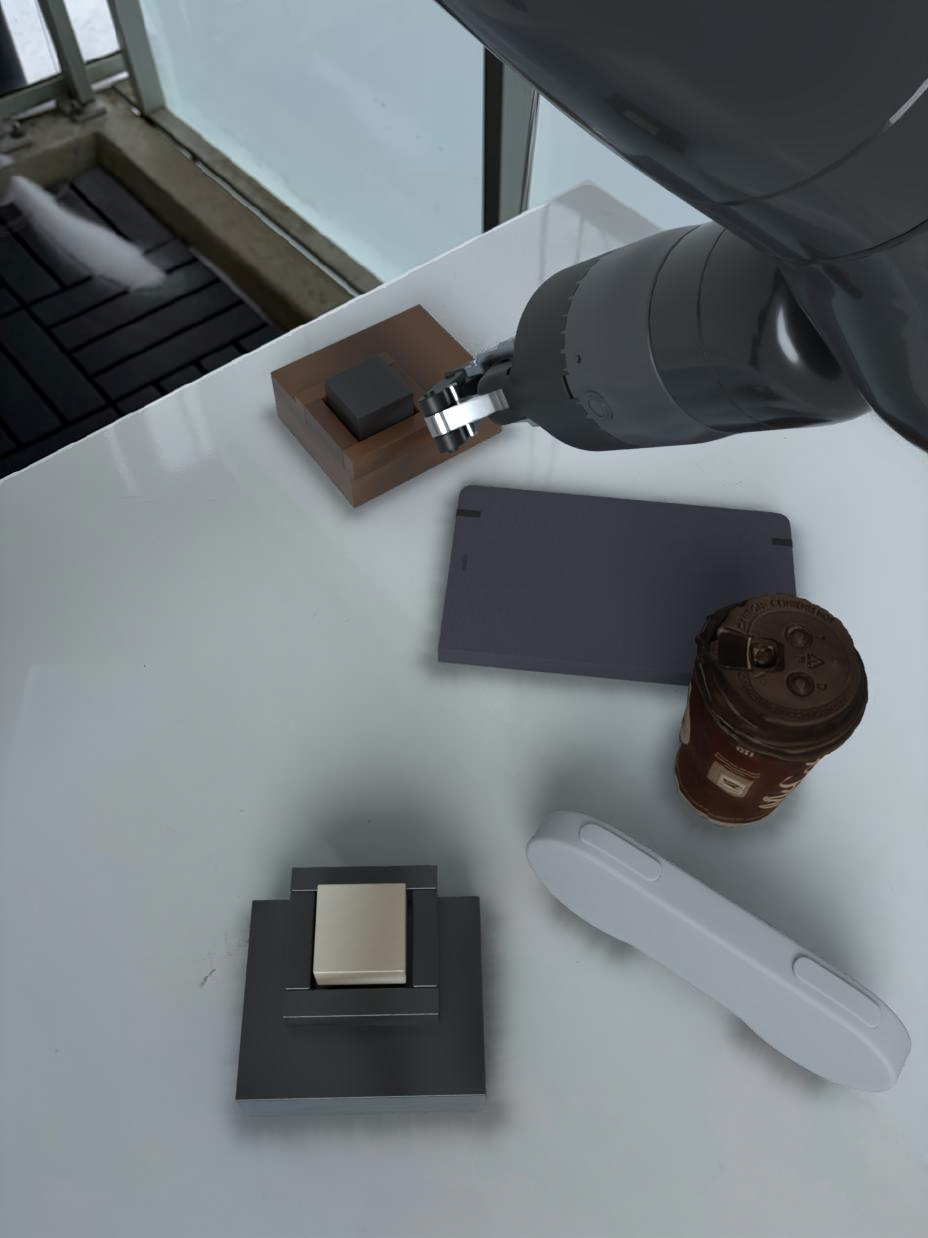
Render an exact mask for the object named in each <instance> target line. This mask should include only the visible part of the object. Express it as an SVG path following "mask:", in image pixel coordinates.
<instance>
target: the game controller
mask: <svg viewBox="0 0 928 1238" xmlns="http://www.w3.org/2000/svg"><path fill="white" fill-rule="evenodd" d="M525 856H526V860H527V863H528V865H529V868H530V869H531V871H532V872H533V874H534V875H535V877H536V878H537V880H538V881H539V882H540V883H541V884H542V885H543V887H544V888H545V889H546V890H547V891H548V892H549V893H550V894H551V895H552V896H553V897H554V898H555V899H556V900H557V901H559V902H560V903H561V904H562V905H563V906H564V907H566V908H567V909H568V910H569V911H571V912H572V913H573V914H575V915H576V916H577V917H579V918H580V919H582V921H584V922H585V923H588V925H591V926H592V927H594V928H595V929H597V930H599V931H600V932H603V933H605V934H607V935H608V936H611V937H612V938H615V939H617V940H619V941H621V942H623V943H626V944H629V945H630V946H632V947H634V948H635V949H637V950H638V951H640V952H641V953H643V954H644V955H646V956H647V957H649V959H652V960H654V961H655V962H657V963H658V964H659V965H661V966H662V967H664V968H665V969H666V970H668V971H669V972H671V973H673V974H674V975H676V976H677V977H679V978H681V980H683V981H685V982H686V983H688V984H689V985H690V986H692V987H693V988H695V989H696V990H697V991H699V992H701V993H702V994H704V995H705V996H707V997H708V998H710V999H711V1000H713V1001H714V1002H716V1003H717V1004H719V1005H720V1006H722V1007H723V1008H725V1009H726V1010H728V1012H731V1013H732V1014H733V1015H735V1016H736V1017H737V1018H739V1019H740V1020H741V1021H742V1022H744V1024H746V1026H747V1027H748V1028H750V1029H751V1031H753V1032H754V1033H755V1034H756V1035H757V1037H758V1036H759V1038H760V1039H762V1041H763V1042H765V1043H766V1044H768V1045H769V1046H770V1047H772V1048H773V1049H774V1050H776V1051H778V1052H779V1053H780V1054H781V1055H783V1056H785V1057H786V1058H787V1059H789V1060H791V1061H792V1062H794V1063H796V1064H797V1065H799V1066H801V1068H804V1069H805V1070H808V1071H809V1072H812V1073H813V1074H815V1075H816V1076H819V1077H822V1078H823V1079H826V1080H827V1081H830V1082H833V1083H835V1084H837V1085H839V1086H842V1087H846V1088H849V1089H851V1090H852V1089H853V1090H855V1091H861V1092H866V1093H874V1094H875V1093H885V1092H888V1091H890V1090H891V1089H893V1088H894V1087H895V1085H897V1083H898V1080H899V1078H900V1077H901V1073H902V1071H903V1069H904V1067H905V1064H906V1062H907V1060H908V1058H909V1055H910V1053H911V1050H912V1041H911V1037H910V1034H909V1031H908V1029H907V1028H906V1026H905V1025H904V1023H903V1022H902V1020H901V1019H900V1017H898V1015H897V1014H896V1013H895V1012H894V1010H893V1009H891V1008H890V1006H889V1005H888V1004H886V1002H885V1001H883V1000H882V999H881V998H880V997H879V996H877V995H876V994H875V993H874V992H872V991H871V990H870V989H868V988H867V987H866V986H864V985H863V984H862V983H860V982H859V981H857V980H855V979H854V978H852V977H851V976H850V975H848V974H847V973H845V972H843V971H842V970H840V969H839V968H837V967H836V966H834V965H833V964H831V963H829V962H828V961H826V960H825V959H823V958H822V957H821V956H819V955H817V954H816V953H814V952H812V951H811V950H810V949H807V948H806V947H805V946H803V945H802V944H800V943H799V942H797V941H795V940H793V939H792V938H791V937H789V936H788V935H786V934H784V933H783V932H781V931H780V930H778V929H776V928H775V927H773V926H772V925H770V924H769V923H768V922H766V921H764V920H762V919H761V918H759V917H758V916H756V915H755V914H753V913H752V912H750V911H748V910H747V909H746V908H744V907H742V906H741V905H739V904H737V903H736V902H734V901H733V900H731V899H730V898H728V897H726V896H725V895H723V894H721V893H720V892H719V891H717V890H716V889H714V888H712V887H710V886H709V885H708V884H706V883H704V882H702V881H701V880H700V879H699V878H697V877H695V876H693V875H692V874H690V873H689V872H687V871H686V870H684V869H682V868H681V867H679V866H677V865H676V864H674V863H673V862H671V861H670V860H668V859H667V858H665V857H663V856H661V854H658V853H657V852H655V851H653V849H651V848H649V847H647V845H645V844H643V843H642V842H640V841H638V840H636V839H635V838H633V837H631V836H630V835H628V834H627V833H625V832H623V831H622V830H621V829H618V828H617V827H616V826H614V825H612V824H610V823H608V822H606V821H604V820H602V819H600V818H597V817H594V816H592V815H589V814H586V813H582V812H579V811H575V810H565V809H563V810H561V809H560V810H555V811H553V812H550V813H549V814H547V816H546V817H545V818H544V819H543V820H542V822H541V823H540V824H539V826H538V828H537V829H536V830H535V831H534V833H533V834H532V836H531V837H530V839H528V842H527V844H526V846H525Z"/></svg>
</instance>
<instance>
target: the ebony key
mask: <svg viewBox="0 0 928 1238" xmlns="http://www.w3.org/2000/svg"><path fill="white" fill-rule="evenodd" d="M324 383H325V392H326V400H327V404H328V405H329V406H330V407H331V408H332V410H333V411H334V412H335V413H336V414H337V415H338V416H339V418H340V419H341V420H342V421H343V422H344V423H345V425H346V426H347V427H348V428H349V429H350V430H351V431H352V433H353V434H354V435H355V436H356V437H357V438H358V439H359V441H360V442H361V441H363V440H365V439H367V438H369V437H371V436H373V435H375V434H377V433H379V432H381V431H383V430H385V429H387V428H389V427H391V426H393V425H395V424H397V423H399V422H401V421H403V420H405V419H407V418H409V417H411V416H413V415H414V394H413V391H412V390H411V389H410V388H409V387H408V386H407V385H406V383H405V382H404V381H403V380H402V379H401V378H400V377H399V376H398V375H397V374H396V373H395V372H394V371H393V370H392V369H391V367H390V366H389V365H388V364H387V363H386V362H385V361H384V360H383V359H382V358H381V357H380V356H379V355H376V356H374V357H372V358H369V359H367V360H365V361H363V362H361V363H359V364H357V365H354V366H352V367H350V368H348V369H346V370H344V371H342V372H340V373H337V374H335V375H333V376H331V377H329V378H327V379H325V380H324Z"/></svg>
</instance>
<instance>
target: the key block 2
mask: <svg viewBox="0 0 928 1238" xmlns="http://www.w3.org/2000/svg"><path fill="white" fill-rule="evenodd" d="M378 883H405V884H406V895H407V955H406V983H405V984H364V985H318V984H317V981H316V979H315V976H314V973H313V965H314V946H315V927H316V907H317V888H318V885H320V884H378ZM438 888H439V887H438V865H437V864H412V865H354V866H353V865H352V866H351V865H349V866H348V865H347V866H346V865H345V866H344V865H343V866H342V865H341V866H294V867H292V868H291V874H290V888H289V889H290V890H289V891H290V893H289V899H252V901H251V907H250V908H251V909H250V920H249V921H250V922H249V933H248V943H247V944H248V945H247V954H246V955H247V957H246V966H245V967H246V968H245V978H244V979H245V980H244V991H243V1003H242V1014H241V1015H242V1016H241V1027H240V1039H239V1050H238V1062H237V1072H236V1073H237V1074H236V1084H235V1085H236V1086H235V1097H234V1098H235V1099H234V1100H235V1102H236V1103H237V1104H238V1106H239V1107H240V1108H241V1109H242V1110H243V1111H244V1112H245V1114H247V1115H248V1117H251V1118H254V1117H255V1118H256V1117H258V1118H259V1117H292V1116H295V1117H296V1116H297V1117H298V1116H336V1115H337V1116H340V1115H341V1116H342V1115H343V1116H344V1115H345V1116H346V1115H381V1114H382V1115H384V1114H387V1115H388V1114H428V1113H429V1114H430V1113H467V1112H469V1113H470V1112H474V1113H475V1112H483V1111H484V1108H485V1103H486V1097H487V1074H486V1044H485V1043H486V1041H485V1012H484V1011H485V1010H484V983H483V954H482V953H483V952H482V951H483V950H482V925H481V924H482V923H481V922H482V921H481V896H479V895H472V896H471V895H469V896H467V895H466V896H465V895H463V896H438V894H439V890H438Z"/></svg>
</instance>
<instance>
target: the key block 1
mask: <svg viewBox="0 0 928 1238" xmlns="http://www.w3.org/2000/svg"><path fill="white" fill-rule="evenodd" d="M376 355H379V356H380V357H381V358H382V359H383V360H384V361H385V362H386V363H387V364H388V365H389V366H390V367H391V369H392V370H393V371H394V372H395V373H396V374H397V375H398V376H399V377H400V378H401V379H402V380H403V381H404V382H405V383H406V385H407V386H408V387H409V388H410V389H411V390H412V391H413V394H414V415H413V416H411V417H409V418H407V419H405V420H403V421H401V422H399V423H397V424H395V425H393V426H391V427H389V428H387V429H385V430H383V431H381V432H379V433H377V434H375V435H373V436H371V437H369V438H367V439H365V440H363V441H361V442H360V441H359V439H358V438H357V437H356V436H355V435H354V434H353V433H352V431H351V430H350V429H349V428H348V427H347V426H346V425H345V423H344V422H343V421H342V420H341V419H340V418H339V416H338V415H337V414H336V413H335V412H334V411H333V410H332V408H331V407H330V406H329V405H328V404H327V400H326V392H325V383H324V380H325V379H327V378H329V377H331V376H333V375H335V374H337V373H340V372H342V371H344V370H346V369H348V368H350V367H352V366H354V365H357V364H359V363H361V362H363V361H365V360H367V359H369V358H372V357H374V356H376ZM473 360H476V358H474V357H473V356H472V354H470V352H468V350H467V349H466V348H465V347H463V346H462V344H460V343H459V341H457V340H456V339H455V338H454V337H453V336H452V335H451V333H449V331H448V330H446V329H445V327H444V326H442V325H441V324H440V323H439V322H438V320H436V319H435V318H434V317H433V316H432V315H431V313H429V312H428V310H426V309H425V308H424V307H423V306H422V305H421V304H420V303H418V304H416V305H413V306H412V307H409V308H408V309H406V310H404V311H401V312H399V313H396V314H394V315H392V316H390V317H388V318H386V319H383V320H381V321H379V322H377V323H375V324H372V325H369V326H368V327H366V328H364V329H362V330H360V331H357V332H355V333H353V334H351V335H348V336H347V337H345V338H342V339H339V340H338V341H335V342H333V343H330V344H329V345H327V346H325V347H322V348H321V349H318V350H315V351H313V352H311V353H310V354H309V353H308V354H307V355H305V356H302V357H300V358H298V359H296V360H294V361H292V362H290V363H287V364H285V365H283V366H281V367H279V368H276V369H274V370H272V371H271V372H270V373H269V374H270V379H271V385H272V391H273V396H274V401H275V406H276V413H277V417H278V418H279V420H280V421H281V422H282V424H283V425H285V427H286V428H287V429H288V430H289V432H290V433H291V434H292V435H293V437H295V439H296V440H297V441H298V442H299V444H300V445H301V446H302V447H303V449H304V450H305V451H306V452H307V453H308V454H309V456H310V457H311V458H312V459H313V460H314V461H315V463H316V464H317V465H318V466H319V468H320V469H321V470H322V471H323V473H324V474H325V475H326V476H327V478H329V480H330V481H331V482H332V483H333V484H334V486H335V487H336V488H337V489H338V491H339V492H340V493H341V494H342V495H343V497H344V498H345V499H346V500H347V501H348V502H349V504H350V505H351V506H352V507H353V508H354V509H356V508H359V507H360V506H362V505H364V504H366V503H368V502H369V501H372V500H374V499H375V498H377V497H379V496H381V495H383V494H385V493H387V492H389V491H391V490H394V489H395V488H396V487H398V486H400V485H403V484H404V483H406V482H408V481H410V480H412V479H414V478H416V477H418V476H420V475H421V474H424V473H425V472H427V471H429V470H432V469H433V468H435V467H437V466H438V465H441V464H442V463H444V462H446V461H449V460H451V459H452V458H454V457H456V456H458V455H460V454H461V453H464V452H466V451H467V450H470V449H471V448H474V447H475V446H477V445H479V444H482V443H483V442H485V441H487V440H489V439H490V438H491V439H492V437H494V436H496V435H498V434H500V433H502V427H503V425H496V424H494V423H492V422H491V421H490V420H489V419H488V417H487V416H486V417H484V418H482V421H481V423H480V424H479V425H478V426H477V428H476V430H477V432H478V433H477V435H475V436H473V437H471V438H468V439H467V441H466V442H465V443H464V444H463V445H461V446H459V449H458V450H456V451H454V452H452V453H448V452H445V453H441V454H440V453H439V451H438V449H437V446H436V444H435V442H434V439H433V437H432V435H431V433H430V431H429V428H428V426H427V424H426V422H425V419H424V416H423V414H422V412H421V410H420V407H419V405H418V403H417V401H418V400H419V399H420V398H421V397H422V396H423V394H425V393H427V392H428V391H429V390H430V389H431V388H432V387H434V386H435V385H436V384H437V383H438V382H439V381H441V380H443V379H445V377H444V375H445V373H447V372H449V371H451V370H453V369H455V368H457V367H459V366H461V365H463V364H465V363H467V362H469V361H473Z"/></svg>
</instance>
